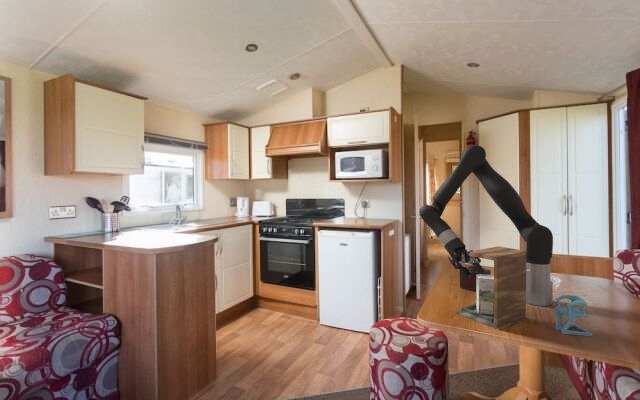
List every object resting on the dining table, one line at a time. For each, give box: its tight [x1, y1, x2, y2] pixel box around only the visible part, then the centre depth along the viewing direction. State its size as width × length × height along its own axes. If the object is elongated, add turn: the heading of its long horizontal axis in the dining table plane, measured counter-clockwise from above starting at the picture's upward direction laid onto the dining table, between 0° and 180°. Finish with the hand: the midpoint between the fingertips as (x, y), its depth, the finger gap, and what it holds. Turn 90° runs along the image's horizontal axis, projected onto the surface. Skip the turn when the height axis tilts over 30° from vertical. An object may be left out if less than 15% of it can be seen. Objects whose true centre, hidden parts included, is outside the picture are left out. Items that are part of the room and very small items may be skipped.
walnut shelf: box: [455, 245, 527, 331], centre depth 118 cm, size 17×18×26 cm
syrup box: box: [475, 274, 494, 315], centre depth 120 cm, size 6×6×14 cm
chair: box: [554, 294, 593, 337], centre depth 104 cm, size 8×8×12 cm
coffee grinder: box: [459, 258, 492, 293], centre depth 151 cm, size 16×11×18 cm
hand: (476, 274), depth 123 cm, fingers open, 8 cm apart
